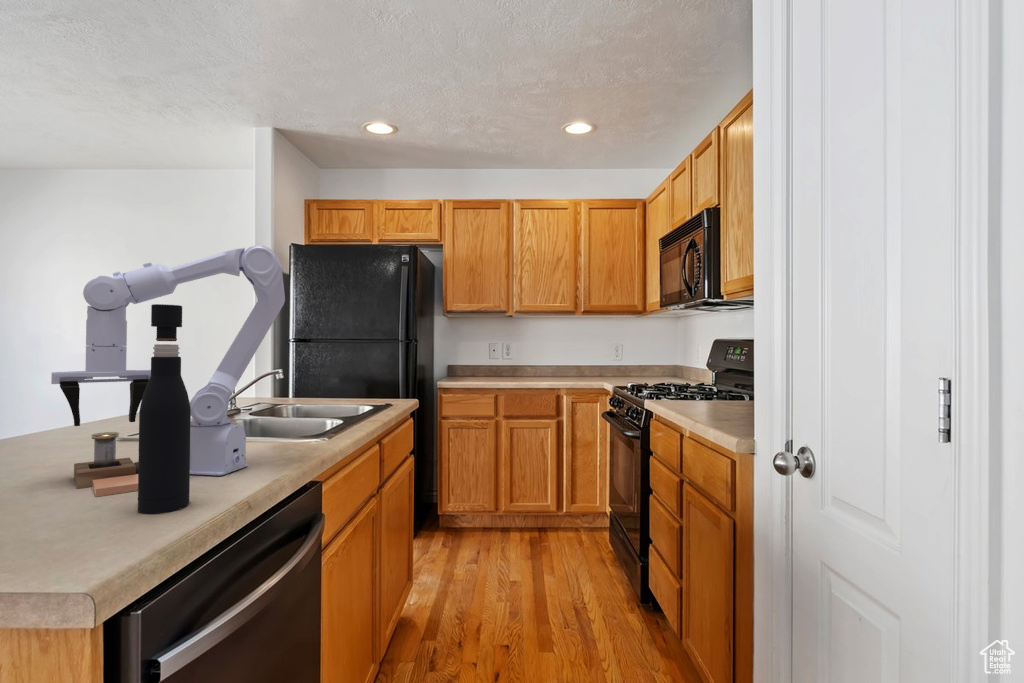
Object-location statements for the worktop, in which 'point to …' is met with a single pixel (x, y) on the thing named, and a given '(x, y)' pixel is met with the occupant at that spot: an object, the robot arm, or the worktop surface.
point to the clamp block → (102, 471)
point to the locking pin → (105, 449)
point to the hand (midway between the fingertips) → (105, 423)
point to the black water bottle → (164, 423)
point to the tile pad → (115, 485)
